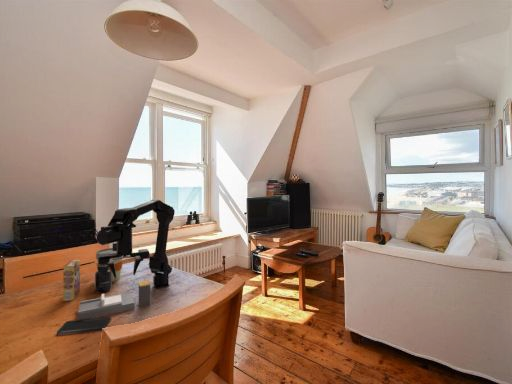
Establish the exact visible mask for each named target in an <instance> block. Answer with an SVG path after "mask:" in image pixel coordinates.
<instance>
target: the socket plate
mask: <svg viewBox="0 0 512 384" xmlns="http://www.w3.org/2000/svg"><path fill="white" fill-rule="evenodd" d="M117 295H121V300H122V302H121V303H116V304H111V305H106V306H102V303H101V299H102V296H100V297H97V298H92V299H87V300H86V299H85V300H82V301H79V306H78V311H77V320H81V319H91V318H100V317H105V316H107V315H112V314H117V313H121V312H126V311H130V310H134V309H135V306H136V305H135V299H134V295H133V292H128V293H123V294H121V293H118V294H113V295H107V296H104V298H107V297H112V296H117ZM135 310H136V309H135Z"/></svg>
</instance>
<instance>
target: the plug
mask: <svg viewBox="0 0 512 384" xmlns="http://www.w3.org/2000/svg"><path fill="white" fill-rule="evenodd" d="M138 305H139V308H142V307H146V306H150V305H151V283H150V281H149V280H144V281H139V282H138Z"/></svg>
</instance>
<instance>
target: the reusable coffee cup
mask: <svg viewBox="0 0 512 384" xmlns="http://www.w3.org/2000/svg"><path fill="white" fill-rule="evenodd" d="M106 253H110V255H117V253H116V251H113V247H111V248H110V247H109V248H104V249H100V250H98V251H96V253H95V259H96V267H97V266H98V265H99V264H98V256H99V255H100V254H106ZM120 257H123V256H120ZM123 262H124V259H116V260H114V266H115V271H116V278H115V277H114V275H113V273H112V282H111V283H113V282H116V281H118V280H119V279H120V278H121V271H122V269H123ZM109 270H111V269H110V267H109ZM111 272H112V270H111Z"/></svg>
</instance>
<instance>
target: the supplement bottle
mask: <svg viewBox="0 0 512 384" xmlns="http://www.w3.org/2000/svg"><path fill="white" fill-rule="evenodd" d="M112 283H113V282H112V272H111V270H109V266H106V265H105V264H100V265H98V266H97V265H96V271H95V273H94V292H95V293H98V294H104V293H107V292H109V291H111V289H112Z"/></svg>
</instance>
